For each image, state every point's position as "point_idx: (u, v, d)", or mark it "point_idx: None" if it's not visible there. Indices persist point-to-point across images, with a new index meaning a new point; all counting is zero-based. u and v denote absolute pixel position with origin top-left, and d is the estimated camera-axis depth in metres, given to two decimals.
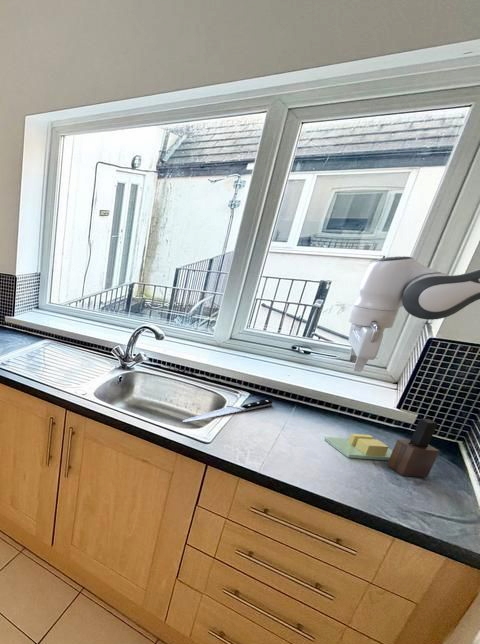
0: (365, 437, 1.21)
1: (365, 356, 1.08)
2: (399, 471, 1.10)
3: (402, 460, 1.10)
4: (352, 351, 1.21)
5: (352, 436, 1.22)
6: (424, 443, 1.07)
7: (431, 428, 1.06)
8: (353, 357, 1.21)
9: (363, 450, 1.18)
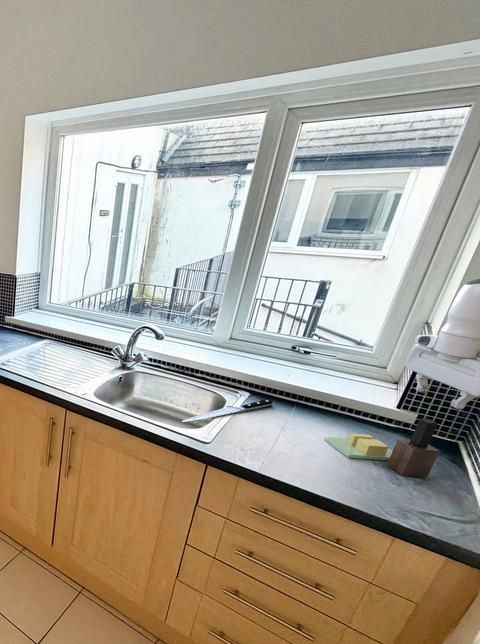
0: (365, 437, 1.21)
1: None
2: (399, 471, 1.10)
3: (402, 460, 1.10)
4: (420, 380, 1.08)
5: (352, 436, 1.22)
6: (424, 443, 1.07)
7: (431, 428, 1.06)
8: (424, 387, 1.08)
9: (363, 450, 1.18)
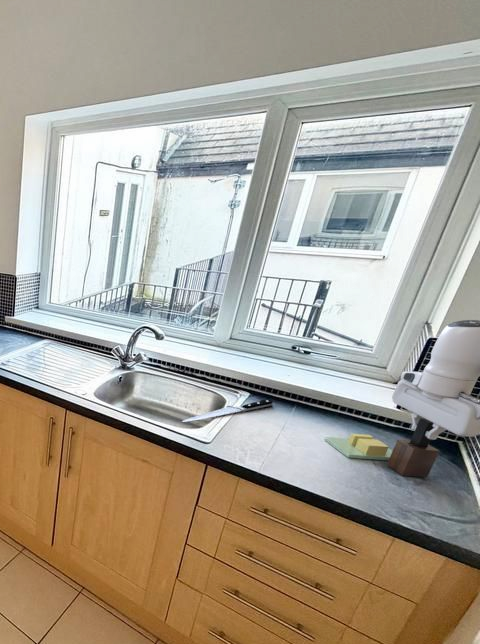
0: (365, 437, 1.21)
1: (469, 434, 0.97)
2: (399, 471, 1.10)
3: (402, 460, 1.10)
4: (415, 420, 1.09)
5: (352, 436, 1.22)
6: (424, 443, 1.07)
7: (431, 428, 1.06)
8: None
9: (363, 450, 1.18)
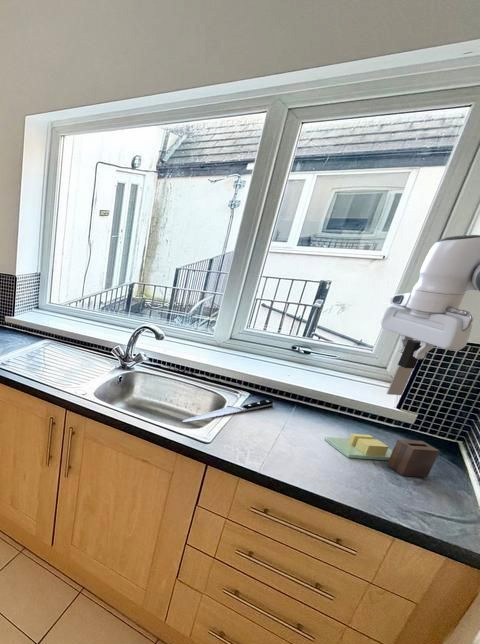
0: (365, 437, 1.21)
1: (456, 347, 0.98)
2: (399, 471, 1.10)
3: (402, 460, 1.10)
4: (403, 342, 1.10)
5: (352, 436, 1.22)
6: (412, 363, 1.08)
7: (418, 348, 1.07)
8: None
9: (363, 450, 1.18)
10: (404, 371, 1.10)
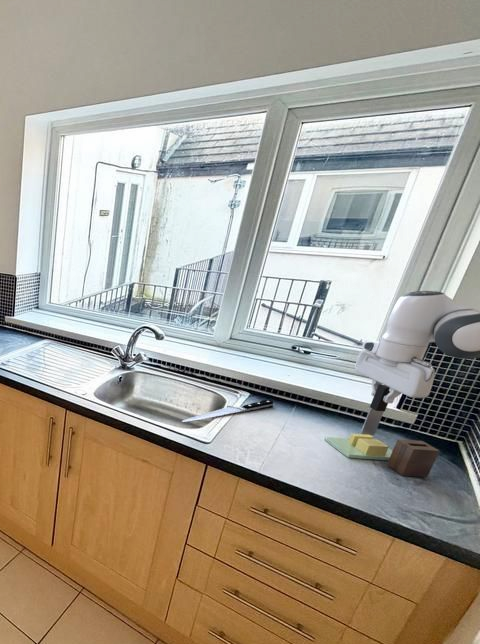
0: (365, 437, 1.21)
1: (420, 396, 1.05)
2: (399, 471, 1.10)
3: (402, 460, 1.10)
4: (375, 386, 1.17)
5: (352, 436, 1.22)
6: (382, 407, 1.15)
7: (388, 393, 1.14)
8: None
9: (363, 450, 1.18)
10: (376, 413, 1.17)
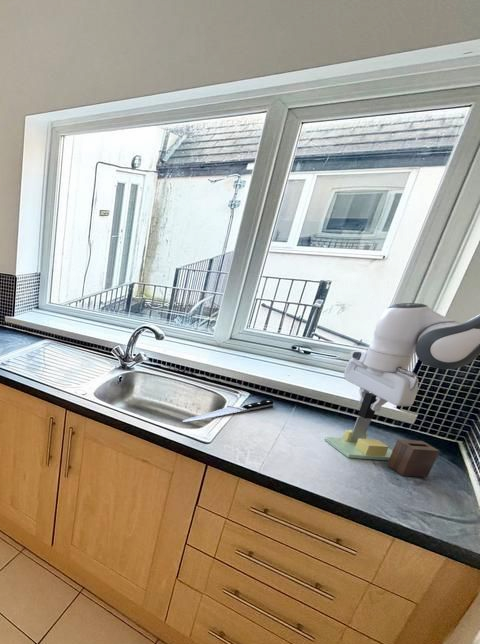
0: None
1: (404, 404, 1.09)
2: (399, 471, 1.10)
3: (402, 460, 1.10)
4: (362, 394, 1.21)
5: (347, 432, 1.24)
6: (370, 414, 1.19)
7: (375, 401, 1.18)
8: None
9: (363, 450, 1.18)
10: (364, 420, 1.21)
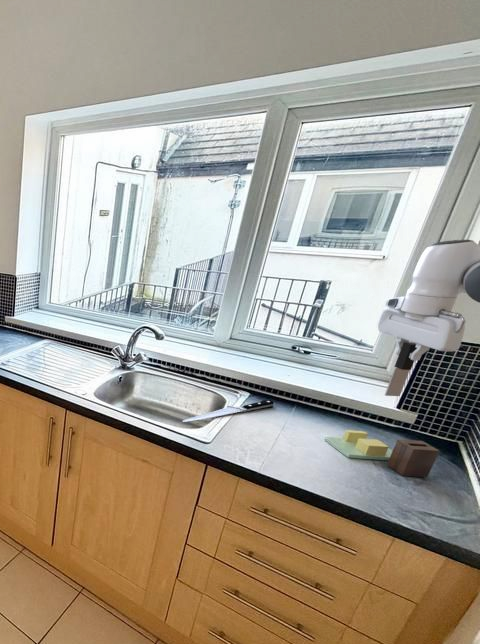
0: (359, 433, 1.23)
1: (450, 348, 1.00)
2: (399, 471, 1.10)
3: (402, 460, 1.10)
4: (399, 344, 1.13)
5: (347, 432, 1.24)
6: (408, 365, 1.11)
7: (414, 350, 1.09)
8: None
9: (363, 450, 1.18)
10: (401, 373, 1.13)
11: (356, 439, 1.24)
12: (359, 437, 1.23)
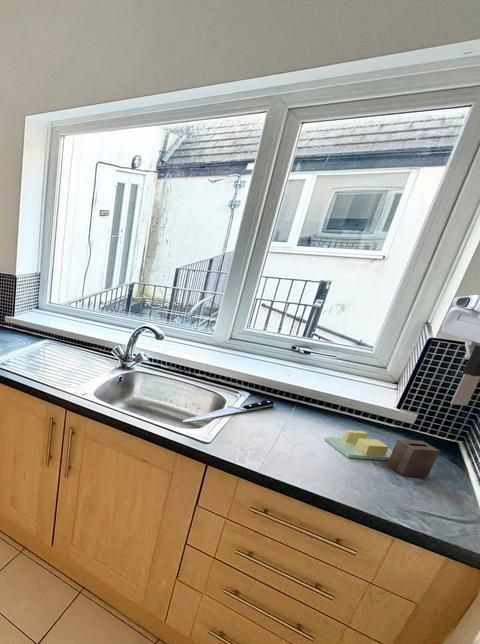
0: (359, 433, 1.23)
1: None
2: (399, 471, 1.10)
3: (402, 460, 1.10)
4: (469, 348, 1.02)
5: (347, 432, 1.24)
6: None
7: None
8: None
9: (363, 450, 1.18)
10: (471, 379, 1.02)
11: (356, 439, 1.24)
12: (359, 437, 1.23)
